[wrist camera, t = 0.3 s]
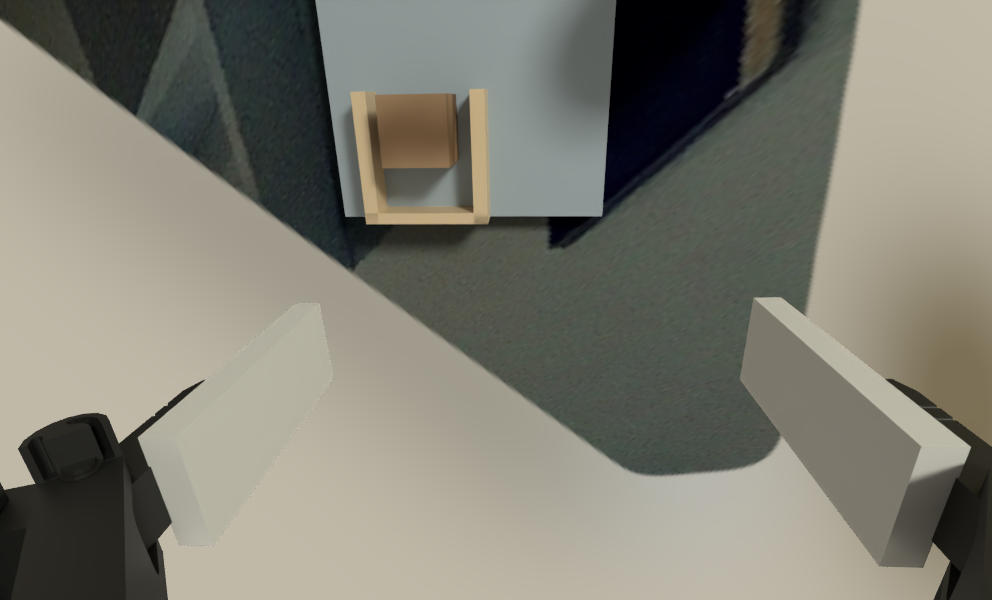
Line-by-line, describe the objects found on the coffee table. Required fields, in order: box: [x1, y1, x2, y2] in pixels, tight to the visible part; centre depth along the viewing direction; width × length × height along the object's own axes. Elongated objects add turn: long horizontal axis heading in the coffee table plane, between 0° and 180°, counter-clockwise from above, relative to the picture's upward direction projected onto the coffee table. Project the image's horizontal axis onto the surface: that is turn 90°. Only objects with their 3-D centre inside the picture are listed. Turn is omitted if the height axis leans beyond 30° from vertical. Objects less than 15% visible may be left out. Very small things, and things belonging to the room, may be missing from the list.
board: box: [316, 0, 616, 224], centre depth 33 cm, size 25×20×4 cm
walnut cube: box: [375, 93, 459, 168], centre depth 33 cm, size 4×4×4 cm
